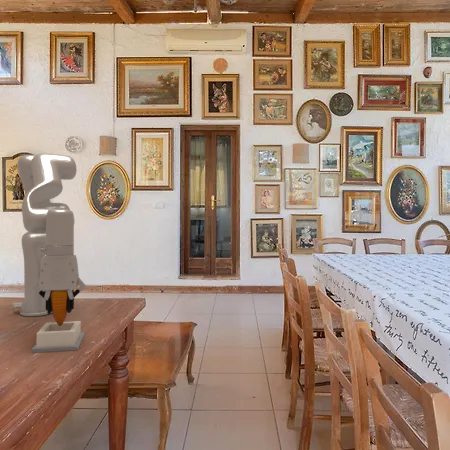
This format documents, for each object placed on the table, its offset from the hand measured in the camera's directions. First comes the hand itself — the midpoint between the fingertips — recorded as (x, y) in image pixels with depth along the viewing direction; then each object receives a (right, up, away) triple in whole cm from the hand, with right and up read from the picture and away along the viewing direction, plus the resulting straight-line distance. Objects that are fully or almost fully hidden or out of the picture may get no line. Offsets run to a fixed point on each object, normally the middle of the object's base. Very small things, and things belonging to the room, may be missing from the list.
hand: (59, 311), depth 106 cm
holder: (0, -10, 0) cm, 10 cm away
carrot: (0, -5, 0) cm, 5 cm away
